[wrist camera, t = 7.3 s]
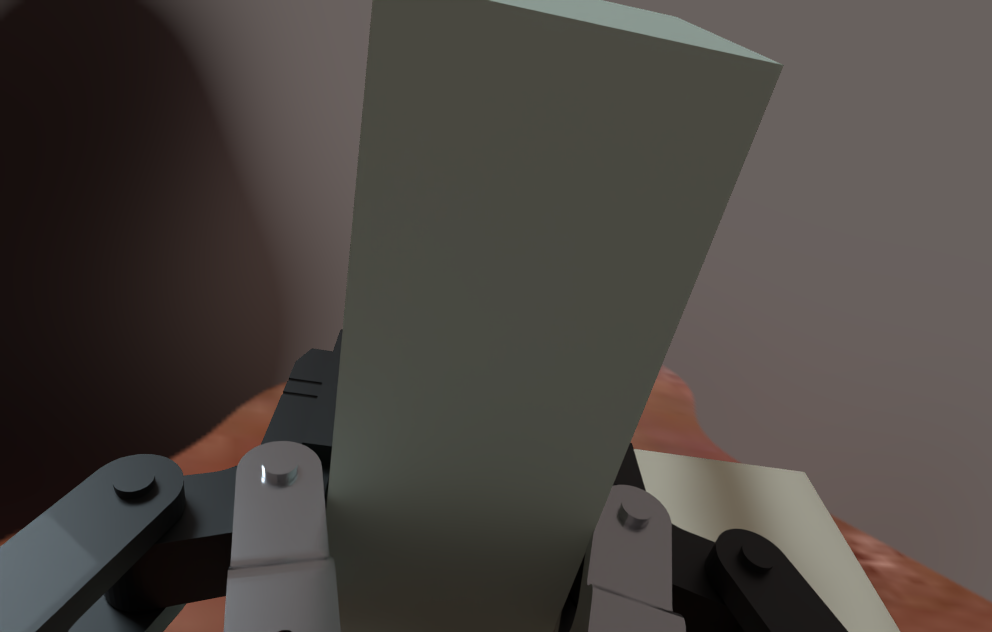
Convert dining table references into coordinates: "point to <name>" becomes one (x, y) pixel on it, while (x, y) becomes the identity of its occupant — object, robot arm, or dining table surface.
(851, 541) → the dining table surface
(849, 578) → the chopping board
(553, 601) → the grey pillar on base
